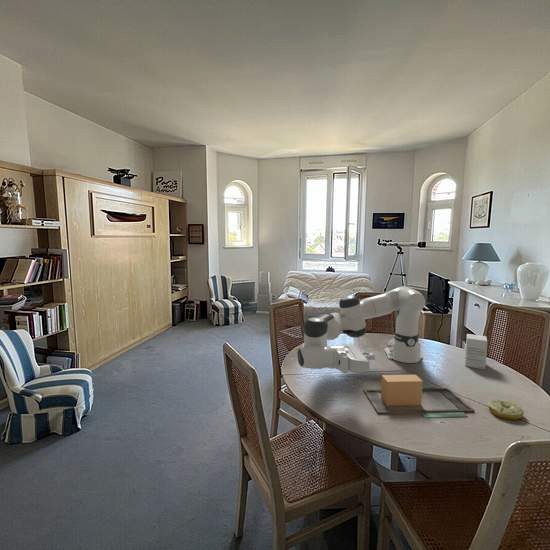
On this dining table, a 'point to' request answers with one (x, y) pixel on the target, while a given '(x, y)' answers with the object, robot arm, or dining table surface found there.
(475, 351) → the supplement box
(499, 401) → the decorated donut
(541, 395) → the dining table surface
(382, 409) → the trap lane
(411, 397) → the orange block
